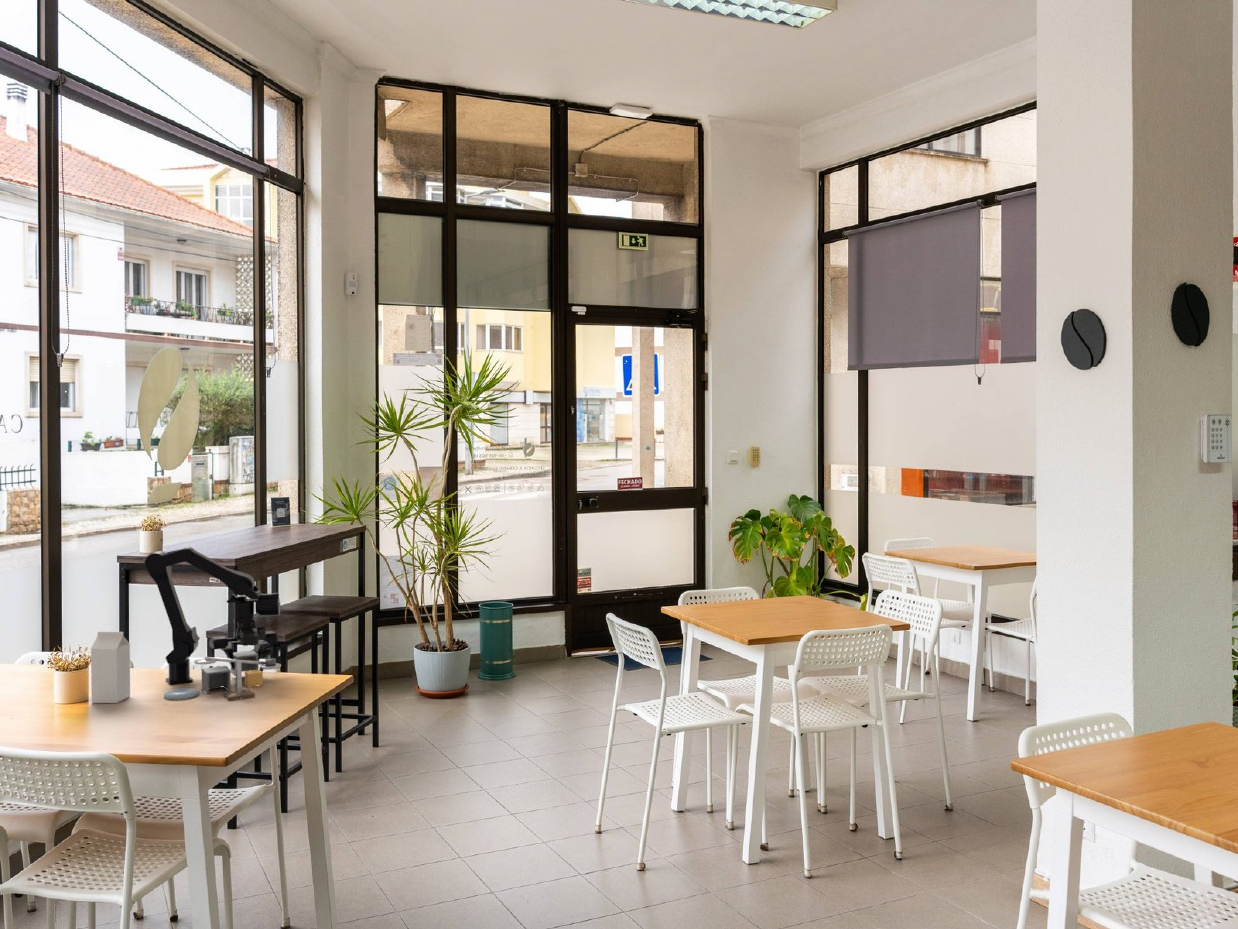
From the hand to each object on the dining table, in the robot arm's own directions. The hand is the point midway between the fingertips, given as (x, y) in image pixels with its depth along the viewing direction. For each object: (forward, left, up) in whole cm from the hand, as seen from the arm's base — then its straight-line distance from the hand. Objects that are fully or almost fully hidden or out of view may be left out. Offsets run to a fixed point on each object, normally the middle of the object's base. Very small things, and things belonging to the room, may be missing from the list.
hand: (244, 668), depth 302 cm
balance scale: (+21, -7, -3) cm, 22 cm away
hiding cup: (0, 0, -2) cm, 2 cm away
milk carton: (+5, -37, -3) cm, 37 cm away
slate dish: (+11, -20, -3) cm, 23 cm away
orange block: (+10, 0, -3) cm, 10 cm away
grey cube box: (+10, -10, -3) cm, 15 cm away
